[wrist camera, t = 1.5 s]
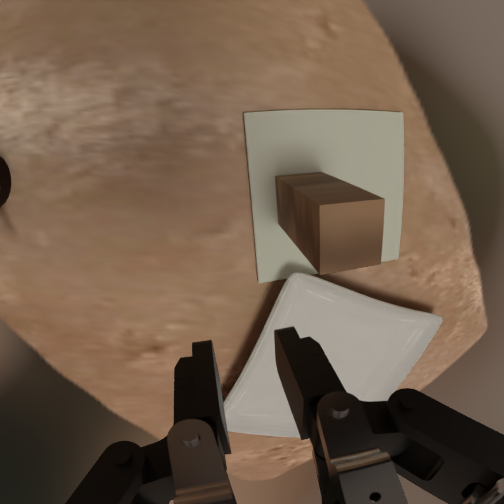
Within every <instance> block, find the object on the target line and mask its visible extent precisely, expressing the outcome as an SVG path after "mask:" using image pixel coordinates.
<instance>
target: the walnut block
mask: <svg viewBox="0 0 504 504" xmlns="http://www.w3.org/2000/svg"><path fill="white" fill-rule="evenodd" d="M275 184H276V199H277V215H278V224H279V226H280V227H281V228H282V229H283V230H284V232H285V233H286V234H287V235H288V237H289V238H290V239H291V240H292V241H293V243H294V244H295V245H296V246H297V248H298V249H299V250H300V251H301V252H302V254H303V255H304V256H305V257H306V259H307V260H308V261H309V262H310V264H311V265H312V266H313V267H314V269H315V270H316V271H317V272H318V274H319V275H324V274H329V273H335V272H340V271H346V270H351V269H357V268H362V267H368V266H373V265H378V264H381V256H382V243H383V229H384V210H385V199H384V198H382V197H380V196H378V195H375V194H373V193H371V192H369V191H366V190H364V189H362V188H359V187H357V186H355V185H352V184H350V183H348V182H345V181H343V180H341V179H338V178H336V177H333V176H331V175H328V174H326V173H323V172H315V173H303V174H291V175H280V176H275Z"/></svg>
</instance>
